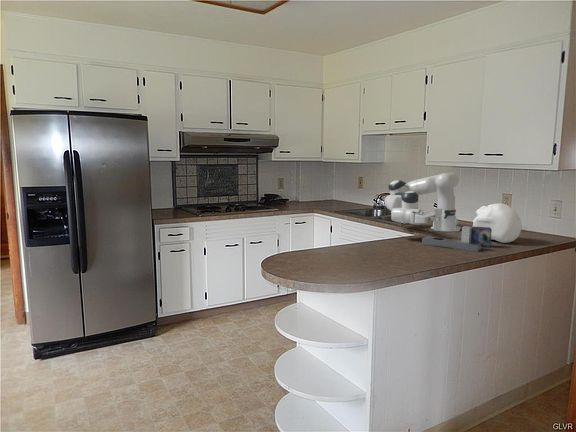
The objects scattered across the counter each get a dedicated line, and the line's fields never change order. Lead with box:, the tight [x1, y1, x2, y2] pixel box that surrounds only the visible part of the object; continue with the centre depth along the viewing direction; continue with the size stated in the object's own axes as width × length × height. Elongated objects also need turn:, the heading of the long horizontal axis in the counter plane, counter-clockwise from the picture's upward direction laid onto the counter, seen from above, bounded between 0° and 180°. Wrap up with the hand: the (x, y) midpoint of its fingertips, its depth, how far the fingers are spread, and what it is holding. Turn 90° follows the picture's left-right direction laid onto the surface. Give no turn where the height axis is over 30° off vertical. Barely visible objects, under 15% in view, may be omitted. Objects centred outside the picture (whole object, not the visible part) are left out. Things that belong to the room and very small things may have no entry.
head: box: [472, 202, 522, 244], centre depth 247 cm, size 20×28×28 cm
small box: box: [469, 225, 492, 248], centre depth 232 cm, size 11×6×10 cm, turn 73°
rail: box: [421, 225, 482, 252], centre depth 230 cm, size 7×30×12 cm, turn 51°
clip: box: [433, 208, 445, 232], centre depth 233 cm, size 4×4×12 cm
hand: (440, 218), depth 233 cm, fingers closed on clip, 4 cm apart
